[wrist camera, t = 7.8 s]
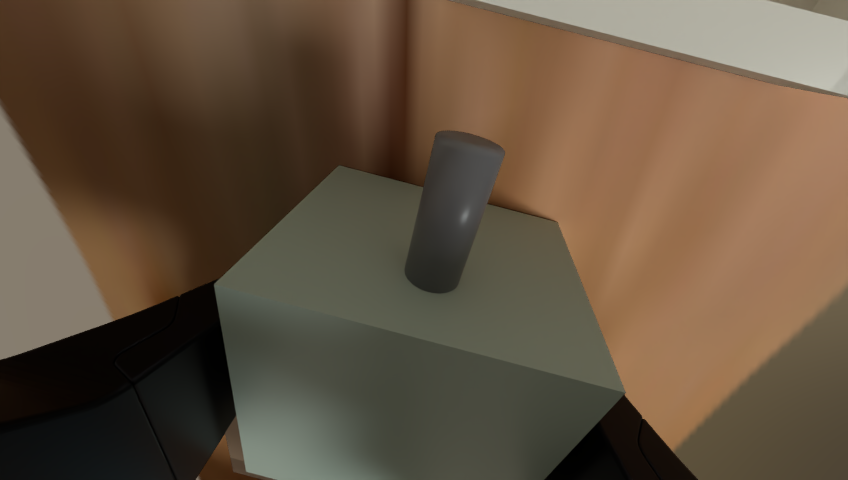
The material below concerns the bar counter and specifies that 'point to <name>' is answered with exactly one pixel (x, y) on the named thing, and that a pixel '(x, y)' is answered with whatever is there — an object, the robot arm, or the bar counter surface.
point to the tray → (713, 33)
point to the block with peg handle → (413, 332)
